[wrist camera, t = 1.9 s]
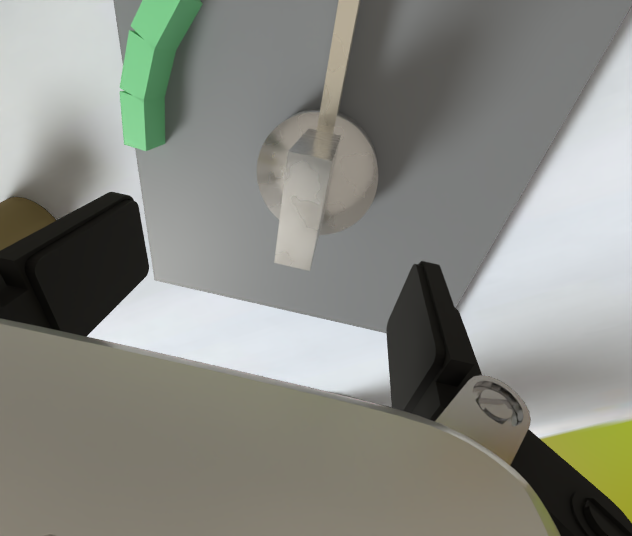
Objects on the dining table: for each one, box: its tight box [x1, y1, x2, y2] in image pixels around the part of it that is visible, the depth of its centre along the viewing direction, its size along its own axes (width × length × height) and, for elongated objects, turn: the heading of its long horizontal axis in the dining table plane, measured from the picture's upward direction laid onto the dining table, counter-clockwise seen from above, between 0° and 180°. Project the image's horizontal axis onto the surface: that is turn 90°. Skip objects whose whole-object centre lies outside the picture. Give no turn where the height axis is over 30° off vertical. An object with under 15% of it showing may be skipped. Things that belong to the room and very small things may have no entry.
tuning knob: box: [257, 0, 378, 271], centre depth 17 cm, size 14×8×8 cm, turn 170°
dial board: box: [114, 0, 632, 333], centre depth 22 cm, size 28×28×4 cm
